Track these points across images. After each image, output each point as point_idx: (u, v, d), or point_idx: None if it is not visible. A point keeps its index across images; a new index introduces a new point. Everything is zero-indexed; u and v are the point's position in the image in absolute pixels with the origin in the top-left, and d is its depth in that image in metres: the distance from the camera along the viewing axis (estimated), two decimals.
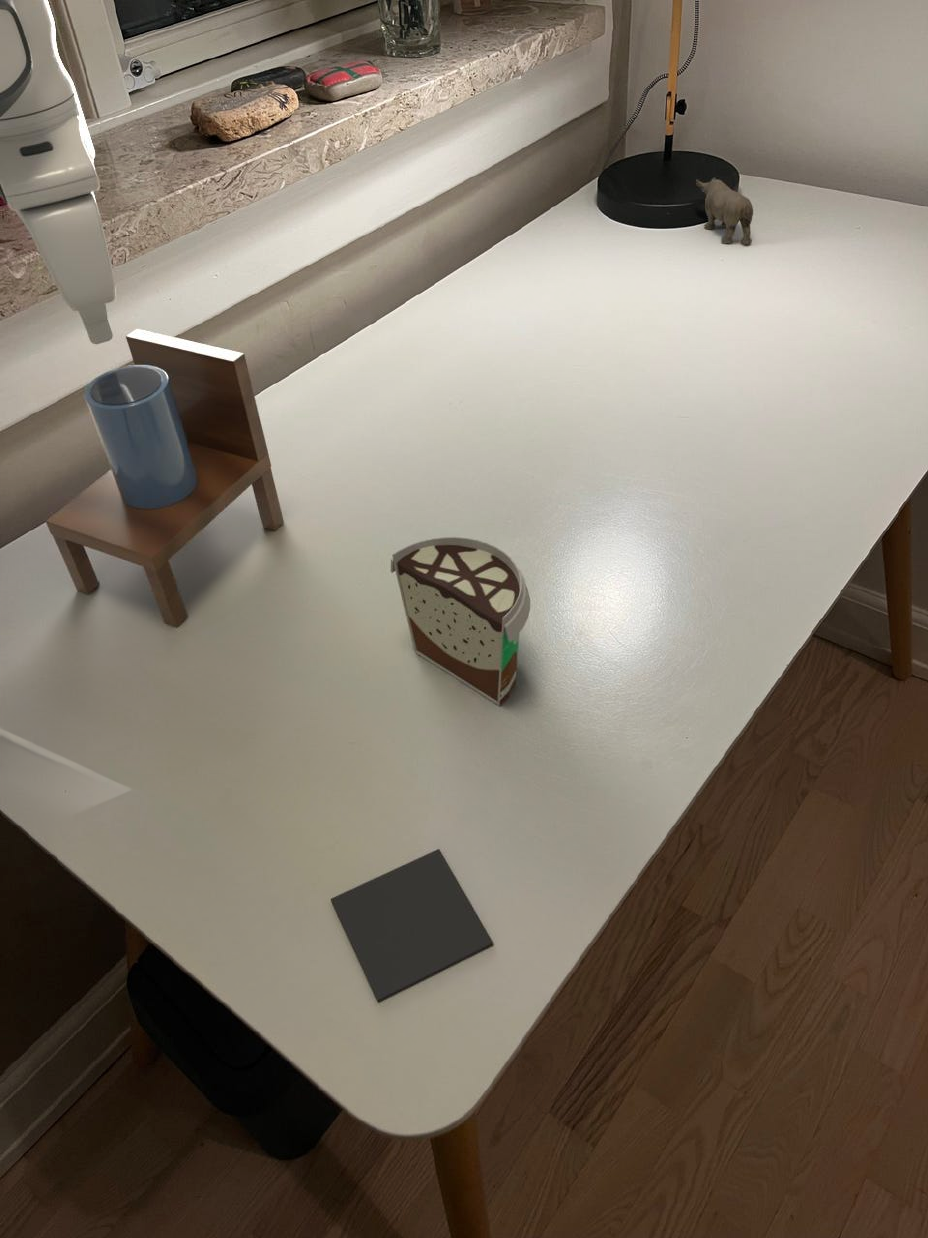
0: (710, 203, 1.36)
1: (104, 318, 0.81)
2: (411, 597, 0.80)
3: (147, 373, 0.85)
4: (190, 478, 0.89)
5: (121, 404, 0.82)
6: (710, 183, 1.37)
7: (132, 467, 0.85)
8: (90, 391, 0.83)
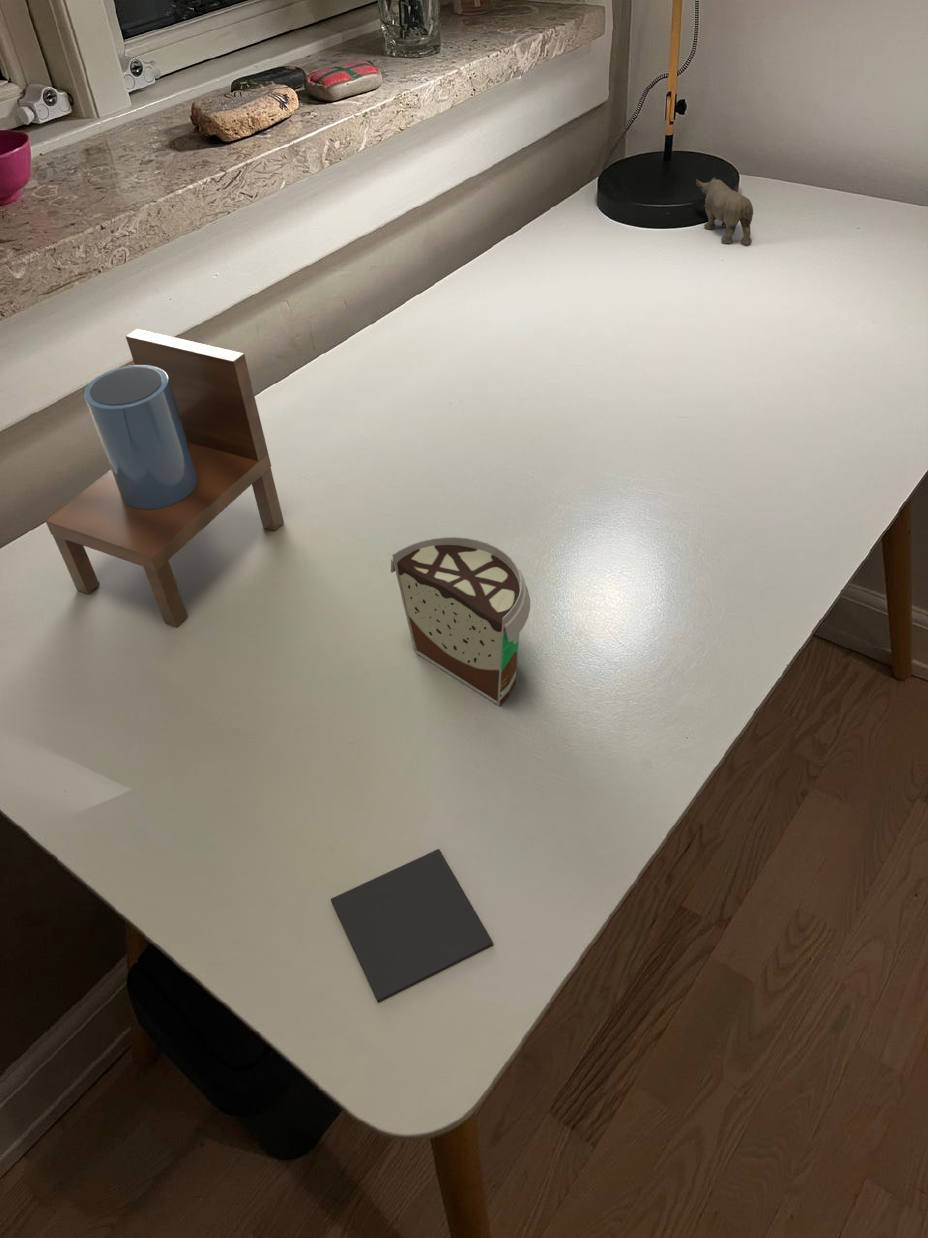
0: (710, 203, 1.36)
1: None
2: (411, 597, 0.80)
3: (147, 373, 0.85)
4: (190, 478, 0.89)
5: (121, 404, 0.82)
6: (710, 183, 1.37)
7: (132, 467, 0.85)
8: (90, 391, 0.83)
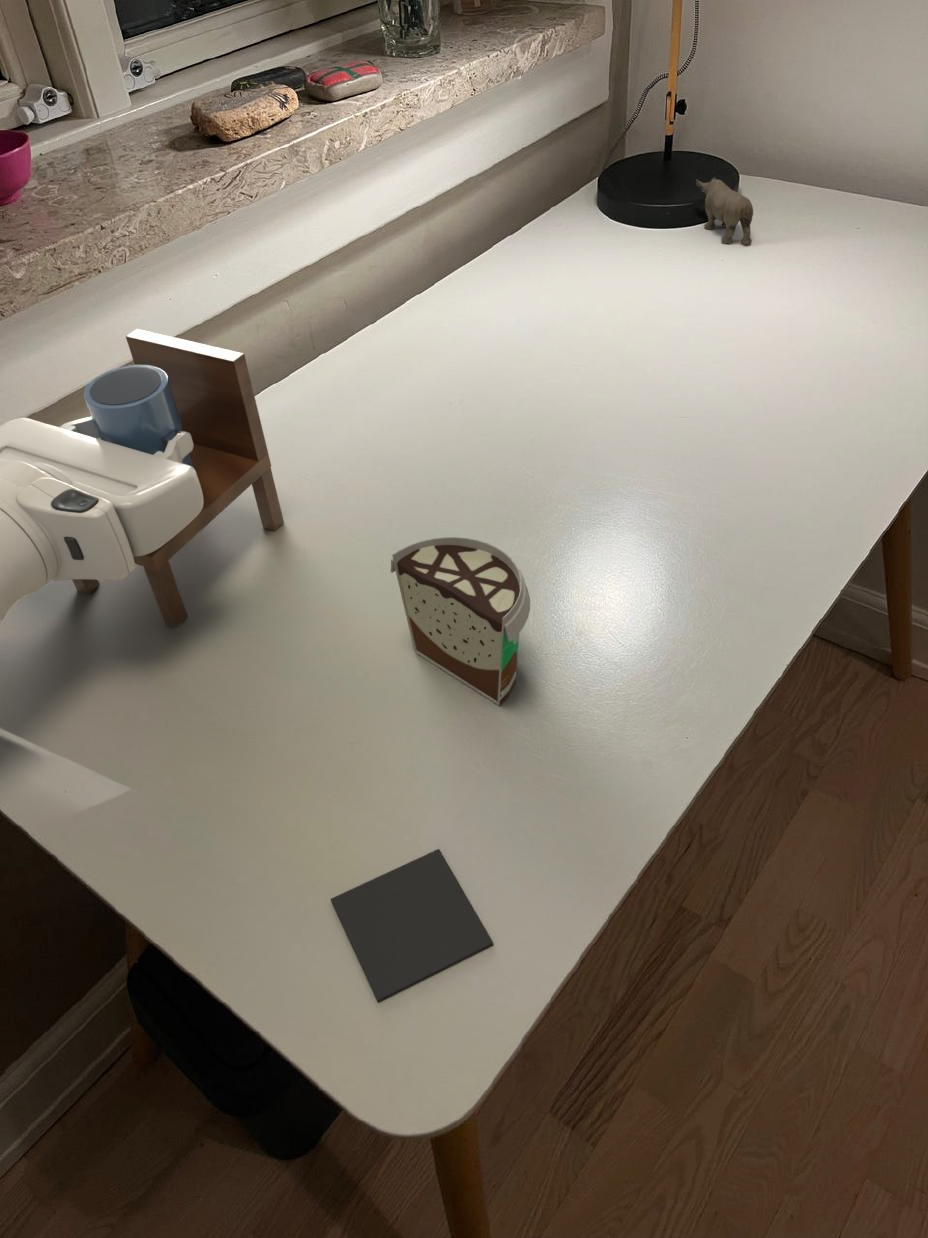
0: (710, 203, 1.36)
1: (176, 445, 0.84)
2: (411, 597, 0.80)
3: (147, 373, 0.85)
4: None
5: (121, 404, 0.82)
6: (710, 183, 1.37)
7: None
8: (89, 390, 0.83)
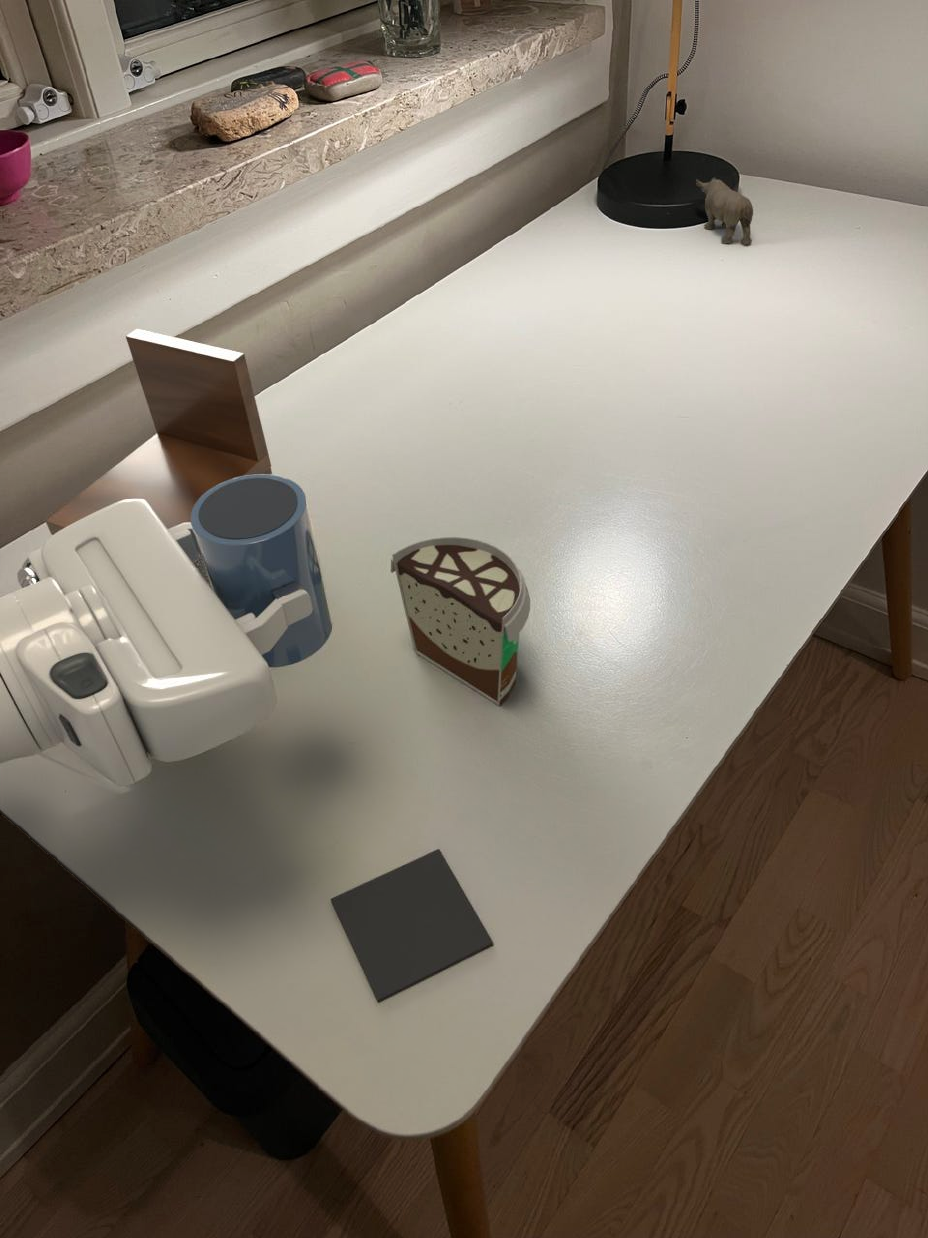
0: (710, 203, 1.36)
1: (281, 609, 0.59)
2: (411, 597, 0.80)
3: (284, 496, 0.61)
4: (310, 641, 0.64)
5: (223, 536, 0.58)
6: (710, 183, 1.37)
7: None
8: (204, 500, 0.61)
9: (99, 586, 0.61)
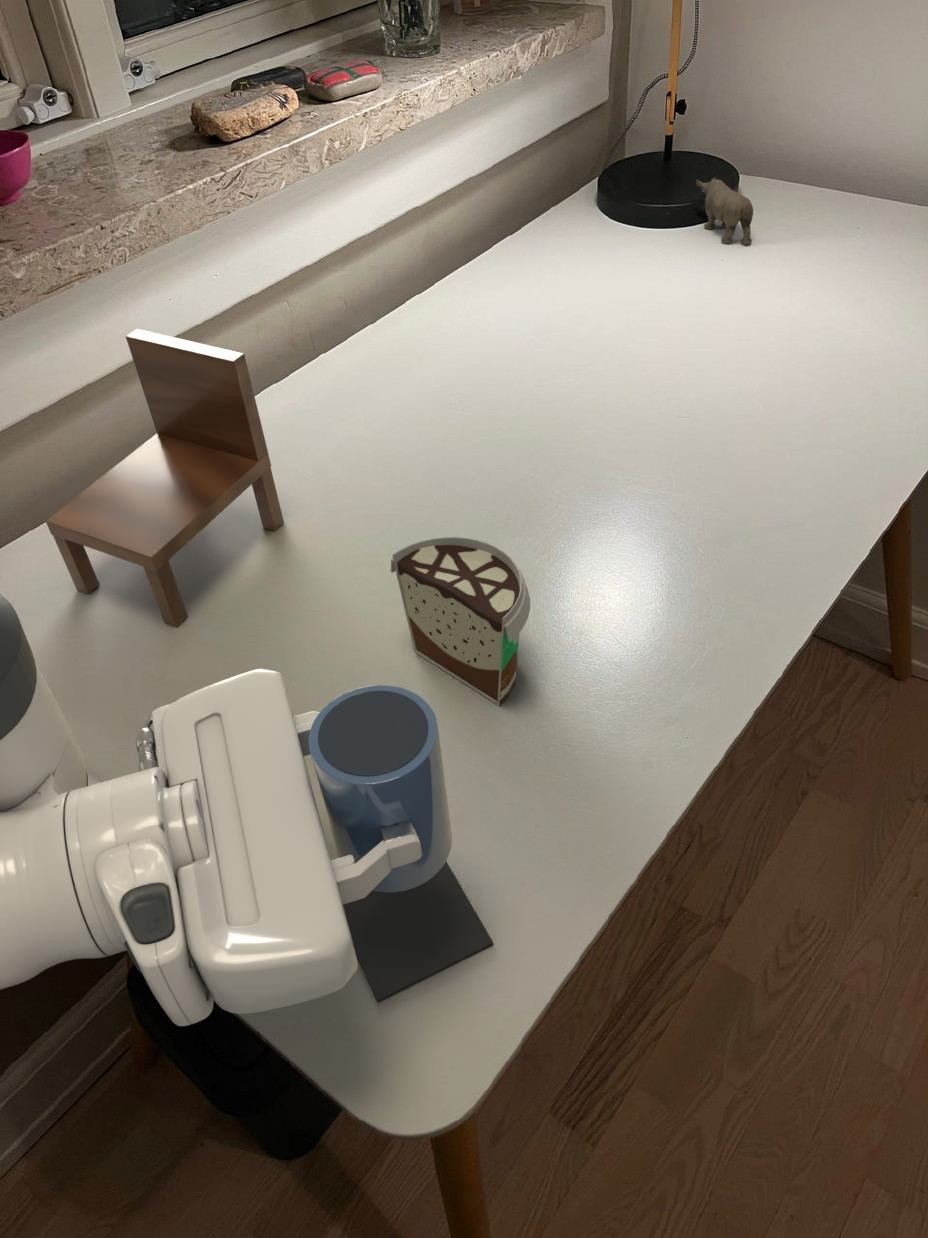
0: (710, 203, 1.36)
1: (385, 856, 0.53)
2: (411, 597, 0.80)
3: (415, 725, 0.54)
4: (419, 873, 0.58)
5: (337, 767, 0.52)
6: (710, 183, 1.37)
7: (336, 831, 0.56)
8: (330, 710, 0.55)
9: (206, 779, 0.56)
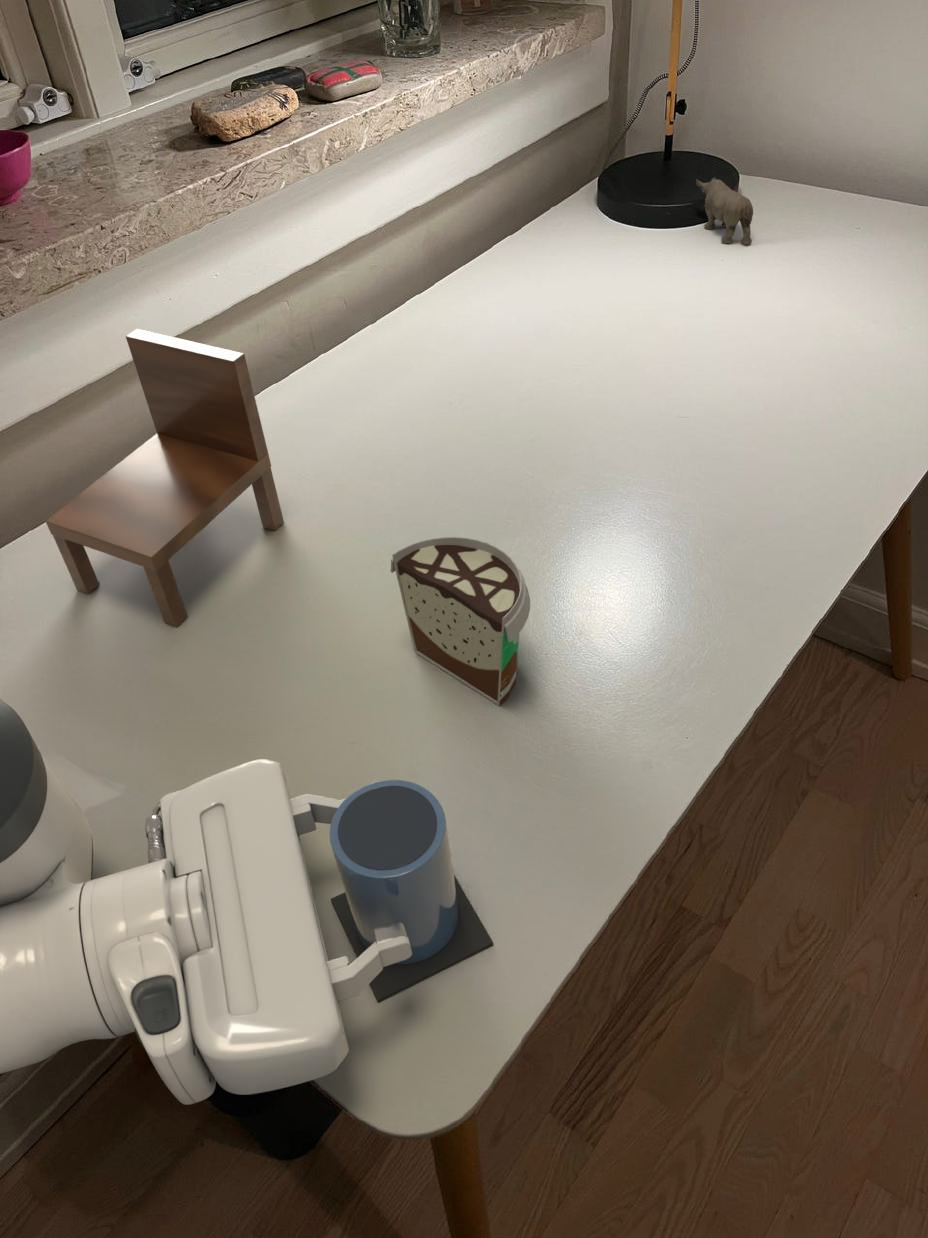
0: (710, 203, 1.36)
1: (377, 957, 0.57)
2: (411, 597, 0.80)
3: (425, 818, 0.60)
4: (430, 946, 0.64)
5: (356, 861, 0.58)
6: (710, 183, 1.37)
7: (355, 913, 0.62)
8: (347, 806, 0.61)
9: (210, 869, 0.61)
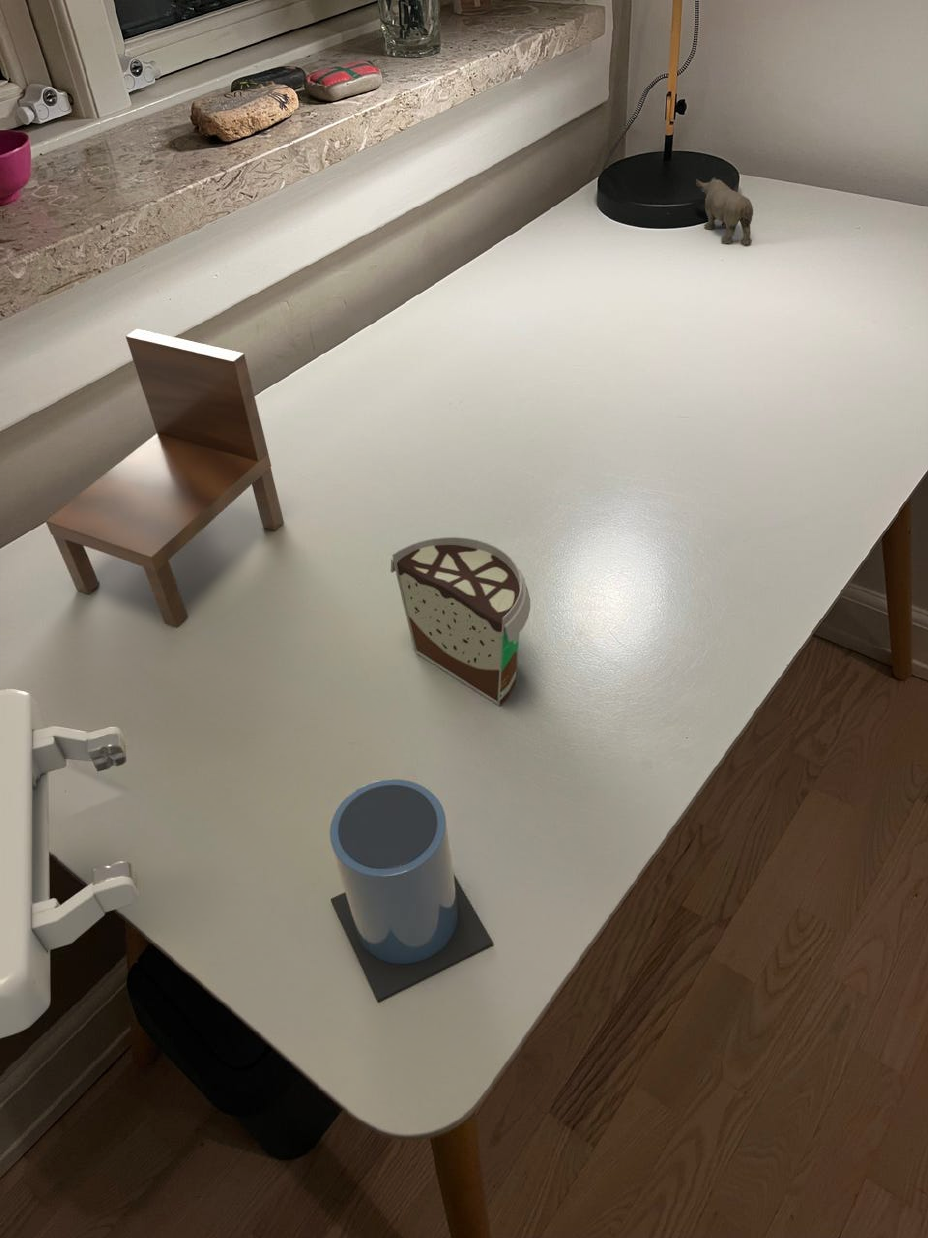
0: (710, 203, 1.36)
1: (91, 900, 0.50)
2: (411, 597, 0.80)
3: (425, 817, 0.60)
4: (430, 946, 0.64)
5: (357, 860, 0.58)
6: (710, 183, 1.37)
7: (355, 912, 0.62)
8: (347, 805, 0.61)
9: None
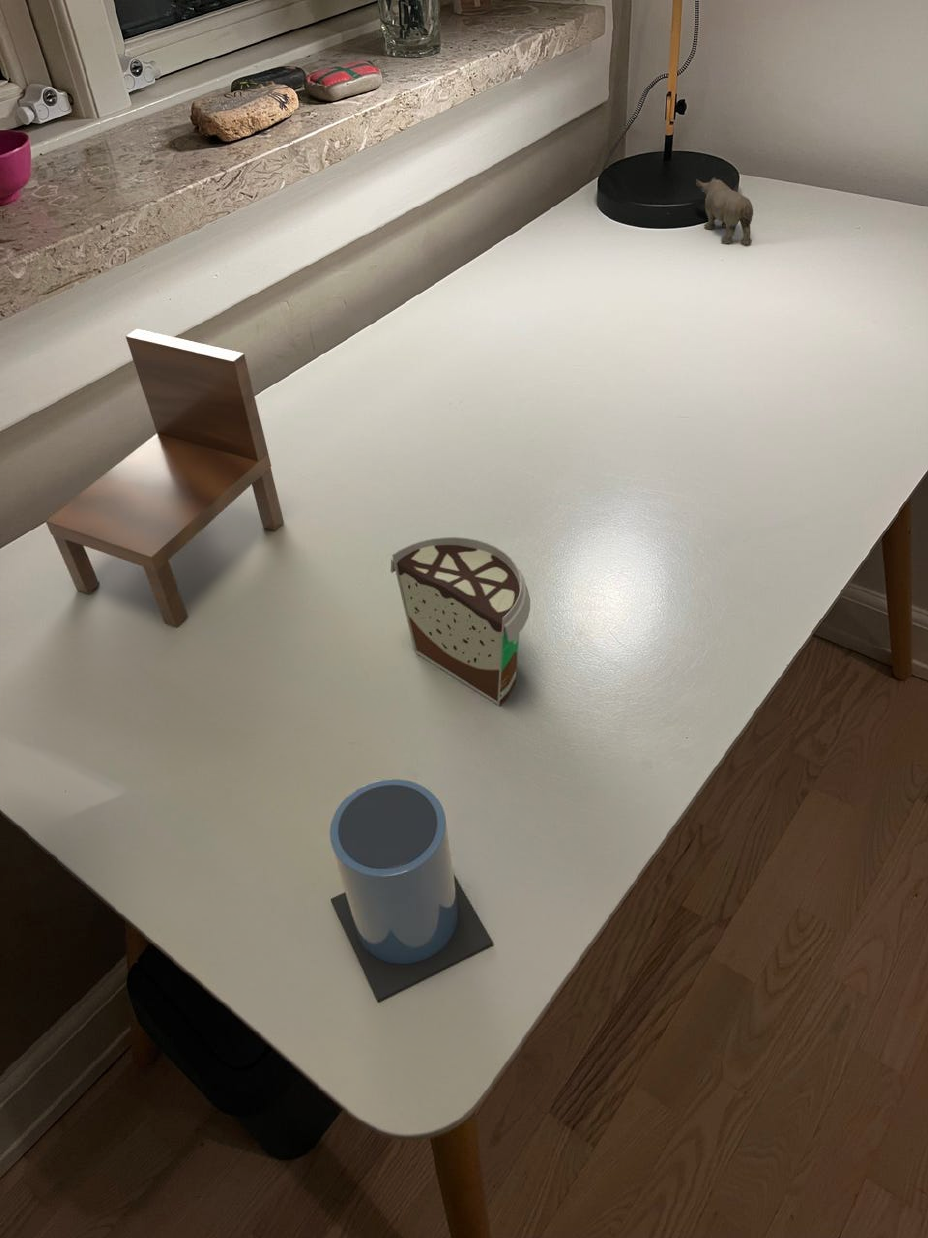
0: (710, 203, 1.36)
1: None
2: (411, 597, 0.80)
3: (425, 817, 0.60)
4: (430, 946, 0.64)
5: (357, 860, 0.58)
6: (710, 183, 1.37)
7: (355, 912, 0.62)
8: (347, 805, 0.61)
9: None
